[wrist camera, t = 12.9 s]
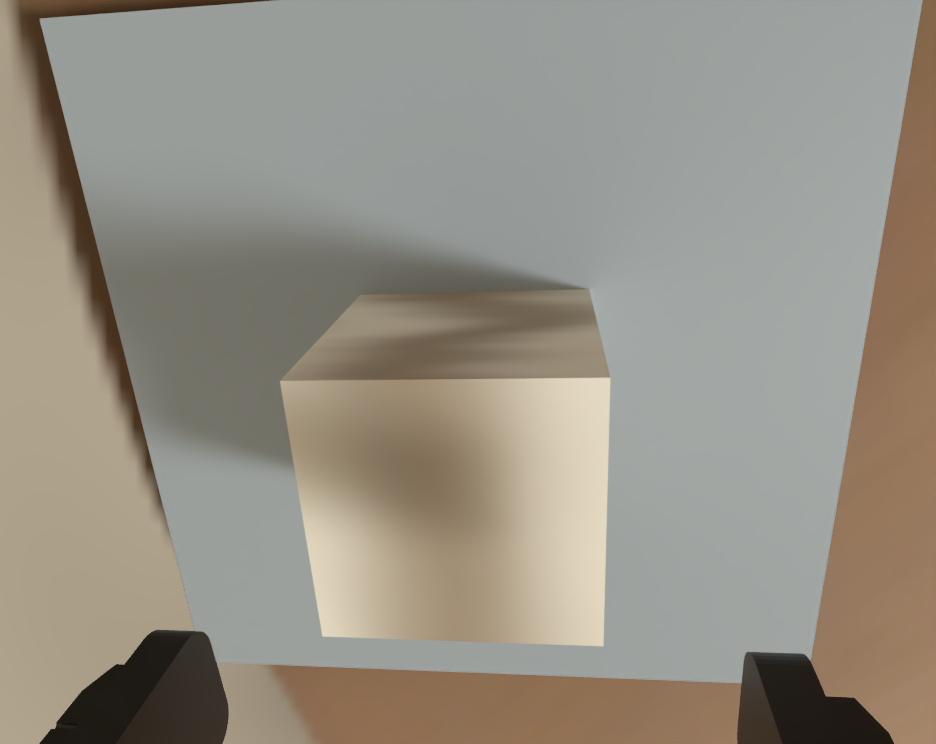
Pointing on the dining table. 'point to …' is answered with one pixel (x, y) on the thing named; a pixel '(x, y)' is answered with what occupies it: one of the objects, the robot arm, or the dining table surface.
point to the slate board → (504, 274)
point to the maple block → (456, 467)
